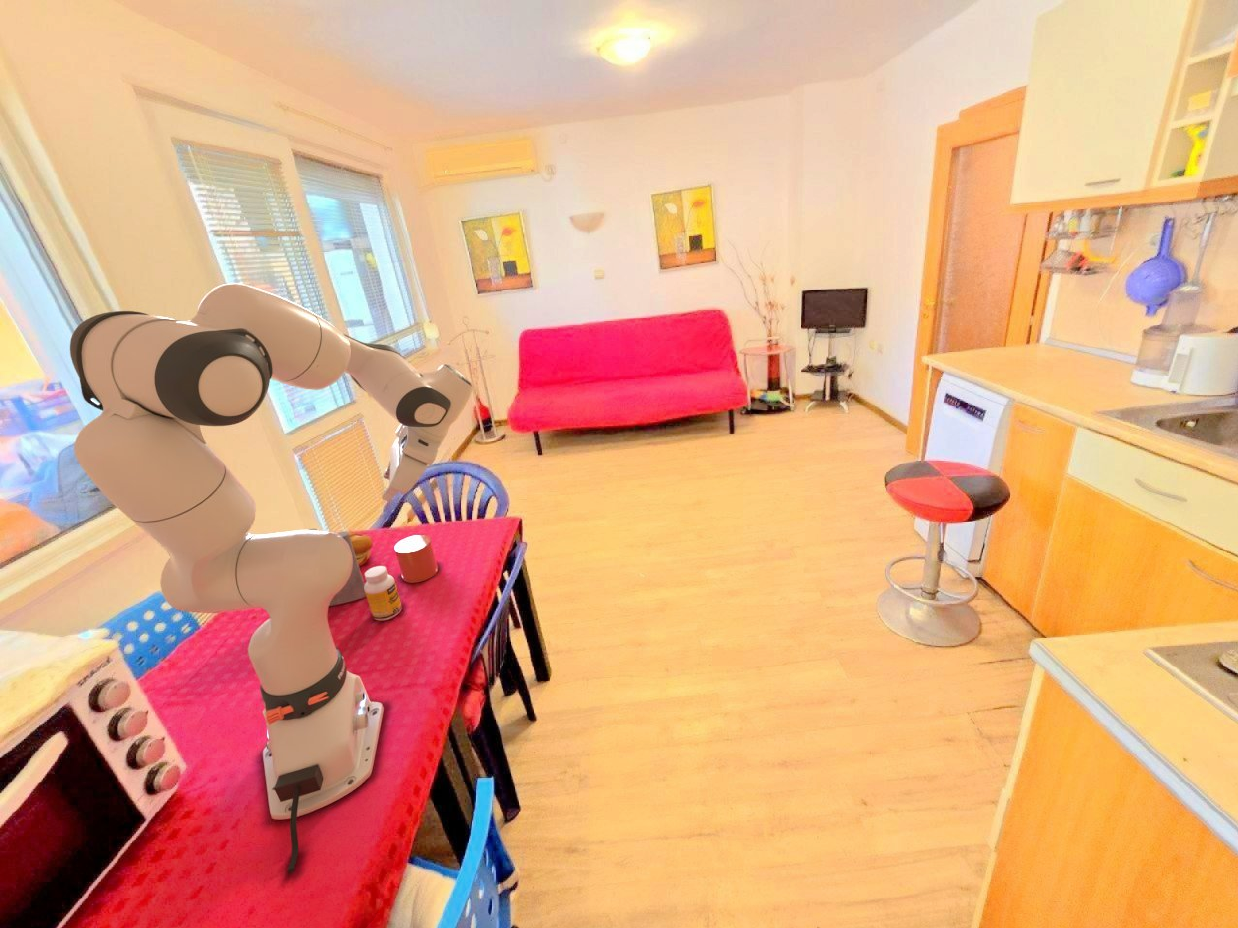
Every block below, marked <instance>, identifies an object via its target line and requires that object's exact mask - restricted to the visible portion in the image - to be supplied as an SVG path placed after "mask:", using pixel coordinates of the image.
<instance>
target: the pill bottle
mask: <svg viewBox="0 0 1238 928" xmlns="http://www.w3.org/2000/svg"><path fill="white" fill-rule="evenodd" d="M388 573H389V572H388V568H387V567H386V566H385V565H376V566H373V567H370V568H368V569H367V570H366V571H365V572H364V578H365V581H366V582H365V583H364V584H365V586H364V590H365V594H366V596H365V597H366V599H367V603H368V606H369V609H370V612H371V616H372V617H373V619H374V620H376V621H387V620H390V619H393V618H395V617H396V616H397V615H398V614H400V612H401V611H402V607H403V605H402V602H401V599H400V595H399V592H398V589H397V585H396V581H395V578H394V577H393V576H392V575H390V574H388Z"/></svg>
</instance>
